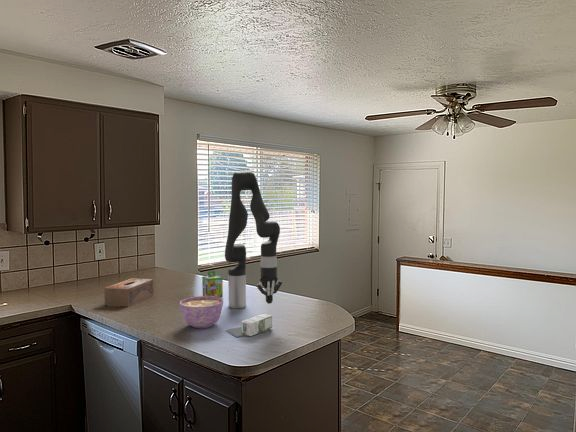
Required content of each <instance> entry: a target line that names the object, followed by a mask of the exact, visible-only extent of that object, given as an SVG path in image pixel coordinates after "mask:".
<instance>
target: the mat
mask: <svg viewBox="0 0 576 432" xmlns="http://www.w3.org/2000/svg"><path fill="white" fill-rule="evenodd" d="M225 331H226V332H227V333H229V334H231V336H233V337H235V338H241V337H247V336H248V335H244V334H242V326H239V327H234V328H228V329H226V330H225ZM267 332H270V329H268V330H265V331H263V332H260V333H259V334H261V333H267Z"/></svg>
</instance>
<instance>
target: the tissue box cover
mask: <svg viewBox="0 0 576 432" xmlns="http://www.w3.org/2000/svg"><path fill="white" fill-rule="evenodd" d="M103 289H104V306H105V305H110V306H109V307H120V306H126V307H125V308H129V306H130V307H131V305H132V306H134V305H135V303H136V304H138V303H140V301H141V302H143V301H145V300H147V299H149V298H152V297H154V296H153V295H155V294H154V279H153V278H151V279H150V278H133V277H132V278H129V279H124V280H123V281H120V282H118V283H115V284H112V285H108V286H106V287H104V288H103ZM151 296H152V297H151ZM146 298H147V299H146ZM144 299H145V300H144ZM142 300H143V301H142ZM137 302H138V303H137ZM133 304H134V305H133Z"/></svg>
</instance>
